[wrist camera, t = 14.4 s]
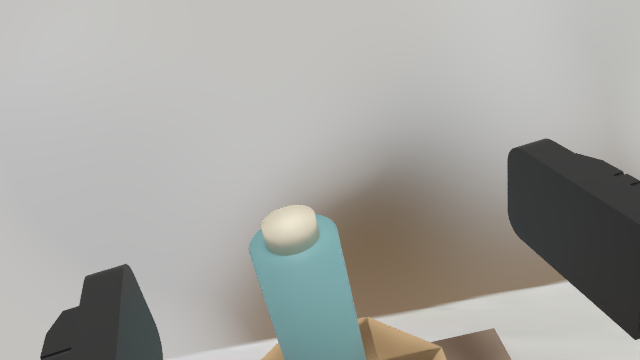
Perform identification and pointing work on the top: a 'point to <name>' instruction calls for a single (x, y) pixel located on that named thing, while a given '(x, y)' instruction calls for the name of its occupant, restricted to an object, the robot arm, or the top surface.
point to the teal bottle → (306, 286)
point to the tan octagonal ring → (385, 344)
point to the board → (474, 347)
